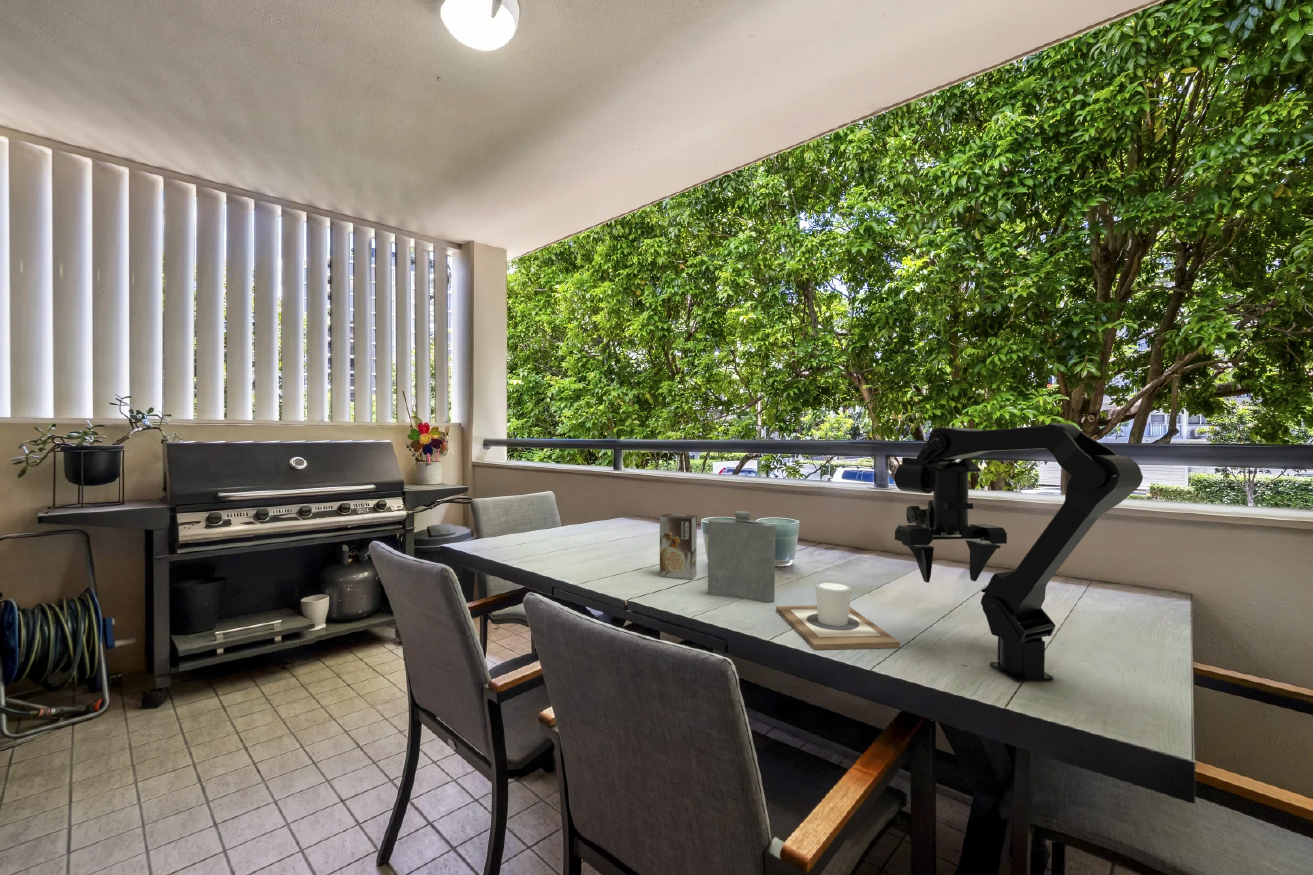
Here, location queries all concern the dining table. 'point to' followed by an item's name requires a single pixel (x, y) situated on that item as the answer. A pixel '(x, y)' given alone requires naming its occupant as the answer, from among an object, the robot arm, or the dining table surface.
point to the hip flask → (741, 558)
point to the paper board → (836, 630)
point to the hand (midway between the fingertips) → (950, 581)
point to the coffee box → (678, 546)
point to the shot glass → (833, 603)
